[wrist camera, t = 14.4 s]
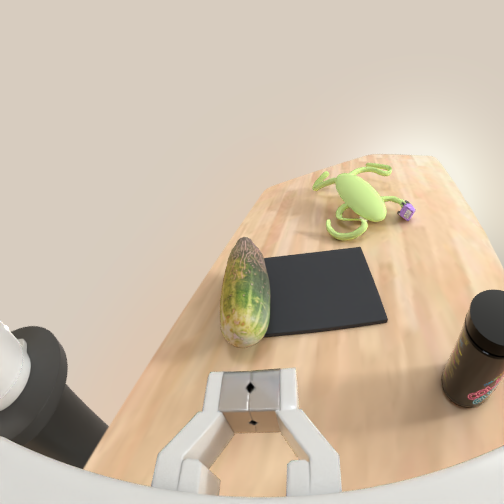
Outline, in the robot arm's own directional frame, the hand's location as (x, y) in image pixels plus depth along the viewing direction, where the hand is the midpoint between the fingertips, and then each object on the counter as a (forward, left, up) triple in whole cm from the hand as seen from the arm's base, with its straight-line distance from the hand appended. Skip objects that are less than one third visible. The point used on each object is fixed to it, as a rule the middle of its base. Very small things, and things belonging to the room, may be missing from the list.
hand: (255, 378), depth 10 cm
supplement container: (+19, +8, -20) cm, 29 cm away
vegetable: (-5, +15, -16) cm, 22 cm away
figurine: (+16, +51, -20) cm, 57 cm away
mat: (+2, +27, -20) cm, 33 cm away
